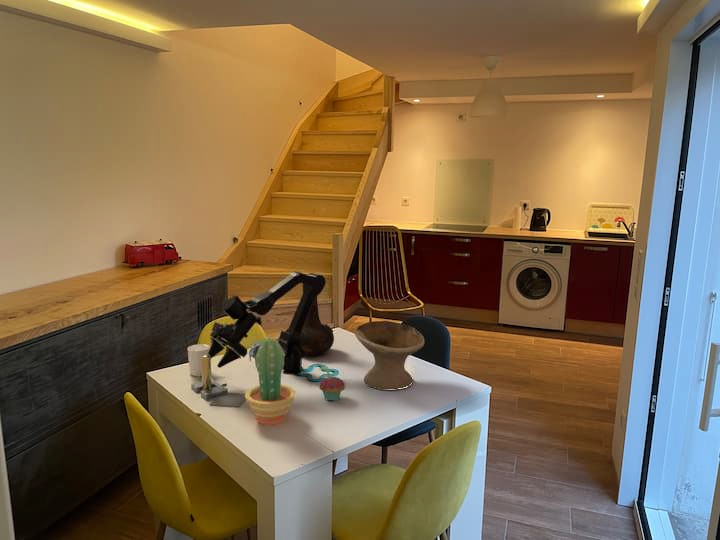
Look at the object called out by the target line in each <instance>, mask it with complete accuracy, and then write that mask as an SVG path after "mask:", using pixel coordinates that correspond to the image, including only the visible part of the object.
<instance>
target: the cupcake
mask: <svg viewBox="0 0 720 540" xmlns="http://www.w3.org/2000/svg"><path fill="white" fill-rule="evenodd" d="M325 369H326V376H327V377H325V378H323V379H321V381H320V382H319V387H318V388H319V390H321V392H322V394H323V397H324V399H325V400H326V399H327V400H326V401H328V400H336V401H338V400H339V399H340V395H341V393H342V391H344V390H345V388H346V384H345V382H344V380H343V379H341V378H340V377H337V376H330V369H329V367H328V365H327V364H326V368H325ZM337 399H338V400H337Z"/></svg>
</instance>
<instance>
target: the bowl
mask: <svg viewBox="0 0 720 540" xmlns="http://www.w3.org/2000/svg"><path fill="white" fill-rule="evenodd" d="M354 335H355V338H356V339H357V340H358V342H360V343H361V345H362V346H363V347H364V348H365V349H366V350H367V351H368V352H370V353H371V354H372V355H373V359H374V365H373V366H372V368H370V369H369V370H368V371H367V373H366V374H365V375H364V377H363V381H364V383H365V384H366V385H367V384H368V385H370V386H372V387H371V388H373V387H376V388H380V389H379V390H381V389H398V388H403V387H406V386H409V385H410V384H411V383H412V381H413V382H414V380H413V377H412V376H411V374H410V373H409V372H408V371H407V370H406V368H405V363H406V361H407V359H408V357H409V356H411V355H412V354H415V353H417V352H418V351H419V350H421V349H422V348H423V347H424V345H425V338H424V335H422V333H421V332H420V331H418V330H416V328H415V327H413V326H409V325H408V324H407V325H406V324H404V323H403V324H402V323H399V322H395V321H389V320H381V321H378V320H377V321H368V322H365V323H363V324H361V325H358V326H357V327H356V329H355V331H354ZM412 384H413V383H412ZM368 385H367V386H368ZM370 386H369V387H370ZM376 388H375V389H376Z"/></svg>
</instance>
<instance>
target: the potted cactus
mask: <svg viewBox="0 0 720 540" xmlns="http://www.w3.org/2000/svg"><path fill="white" fill-rule="evenodd" d="M284 356H285V353H284V351H283V349H282V347H281V346H280V344H279V343H278V340H277V339H276V337H273V338H270V337H266V338H262V340H261V341H255V343H253V345H251V347H250V349H249V351H248V357H249V359H248V360H249V362H250V363H251V362H252V358H253V359H254V360H255V361H254V363H255V369H256V371H257V373H258V383H259V385H256V386H254V387H252V388H250V389H248V390H247V391H246V392H245V393H244V394H245V399H246V400H245V402H247V403H248V405H249V407H250V410H251V412H252V413H254V415H255V416H256V418H255V420H256V422H257V423H258V424H261V425H269V426H270V425H271V426H272V425H276V424H281V423H282V422H284V421H285V419H286V414H287V413H288V411H289V410H290V407H291V405H292V403H293V402H294V400H295V397H296V390H295V389H293V388H292V387H291V386H288V385H284V384H281V383H282V373H283V371H284V370H283V367H284Z"/></svg>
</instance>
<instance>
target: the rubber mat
mask: <svg viewBox="0 0 720 540" xmlns="http://www.w3.org/2000/svg"><path fill="white" fill-rule="evenodd" d="M245 394H246V393H241V392H240V393H239V392H228V394H224V395H220V396H217V397H216V398H213V399H212V401H211V402H209V406H215V407H216V406H218V407H229V408H240V407H242V405H243V404H244V403H245V402H246V399H245Z"/></svg>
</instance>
